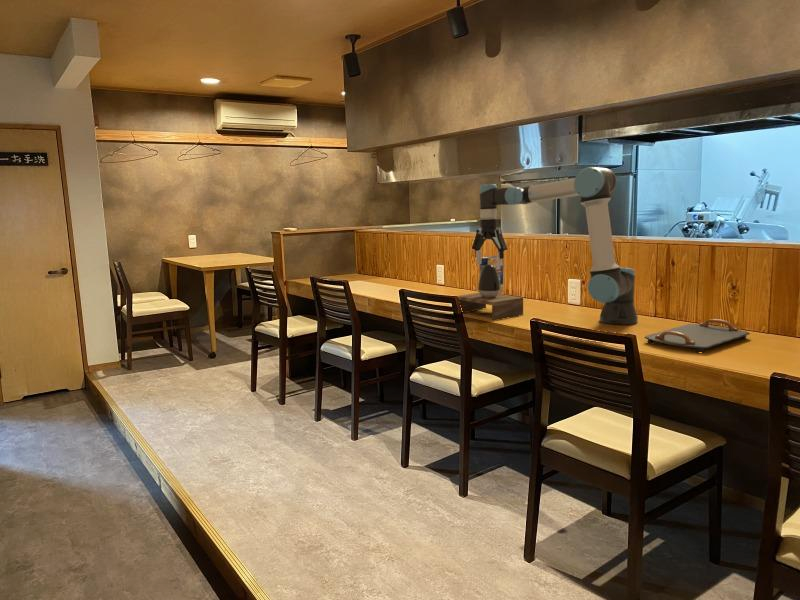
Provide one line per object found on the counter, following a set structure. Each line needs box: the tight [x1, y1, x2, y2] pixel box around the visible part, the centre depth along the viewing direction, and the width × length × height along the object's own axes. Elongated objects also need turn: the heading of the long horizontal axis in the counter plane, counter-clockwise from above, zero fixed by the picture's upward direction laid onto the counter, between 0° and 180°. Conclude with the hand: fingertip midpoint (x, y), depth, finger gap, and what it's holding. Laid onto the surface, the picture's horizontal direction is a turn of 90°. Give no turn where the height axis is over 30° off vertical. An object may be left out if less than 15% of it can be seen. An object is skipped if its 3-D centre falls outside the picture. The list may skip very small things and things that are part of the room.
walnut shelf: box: [456, 292, 524, 321], centre depth 280 cm, size 26×18×8 cm
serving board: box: [644, 318, 751, 353], centre depth 218 cm, size 39×23×6 cm, turn 127°
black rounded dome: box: [477, 264, 500, 298], centre depth 278 cm, size 10×10×15 cm
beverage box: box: [479, 255, 504, 295], centre depth 324 cm, size 7×11×22 cm, turn 124°
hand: (489, 265), depth 277 cm, fingers open, 13 cm apart
